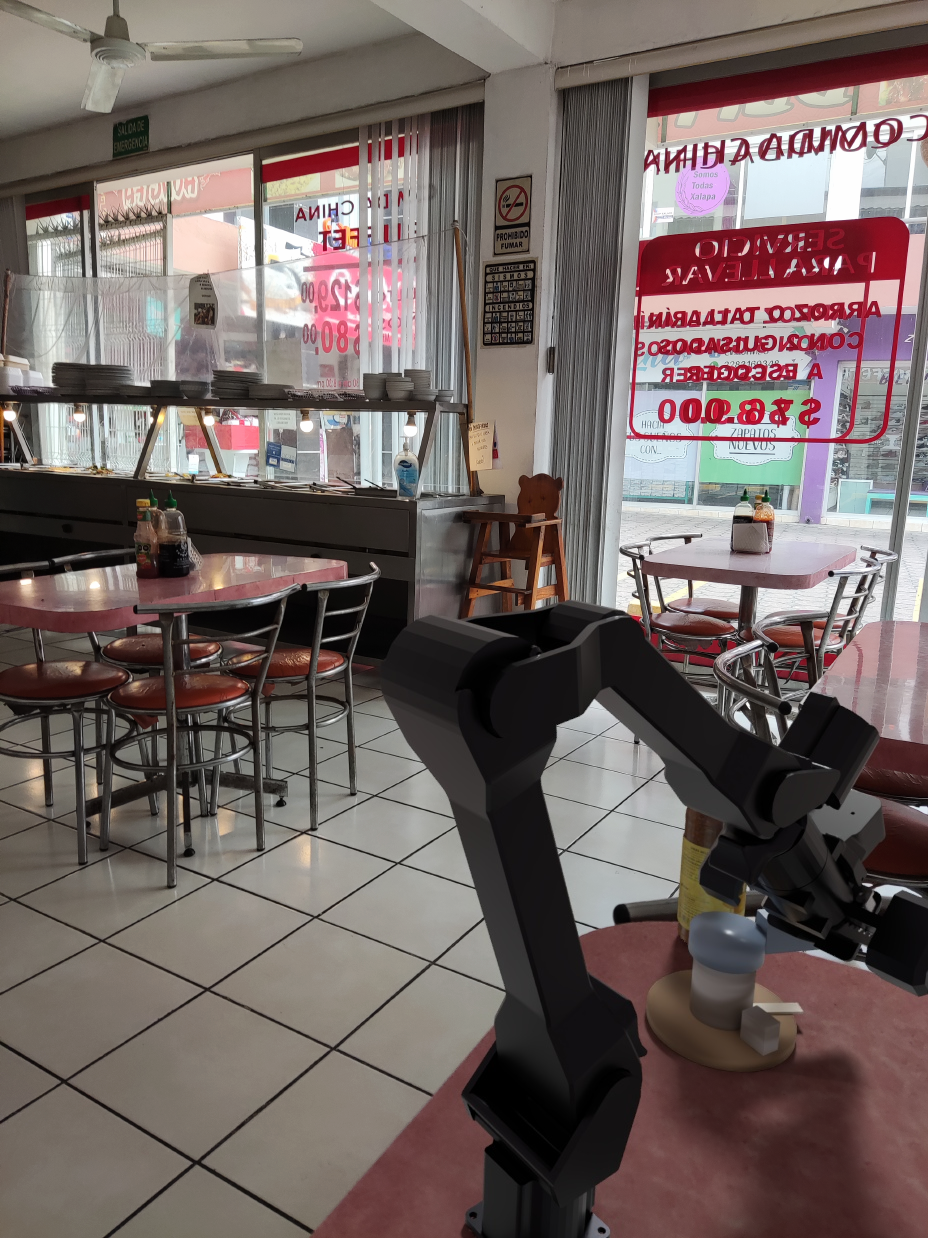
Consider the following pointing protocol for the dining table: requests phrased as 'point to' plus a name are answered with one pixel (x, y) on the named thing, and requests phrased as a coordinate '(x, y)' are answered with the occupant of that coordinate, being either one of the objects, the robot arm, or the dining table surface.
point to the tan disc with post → (722, 1019)
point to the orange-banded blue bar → (738, 941)
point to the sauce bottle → (694, 851)
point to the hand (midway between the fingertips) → (847, 947)
